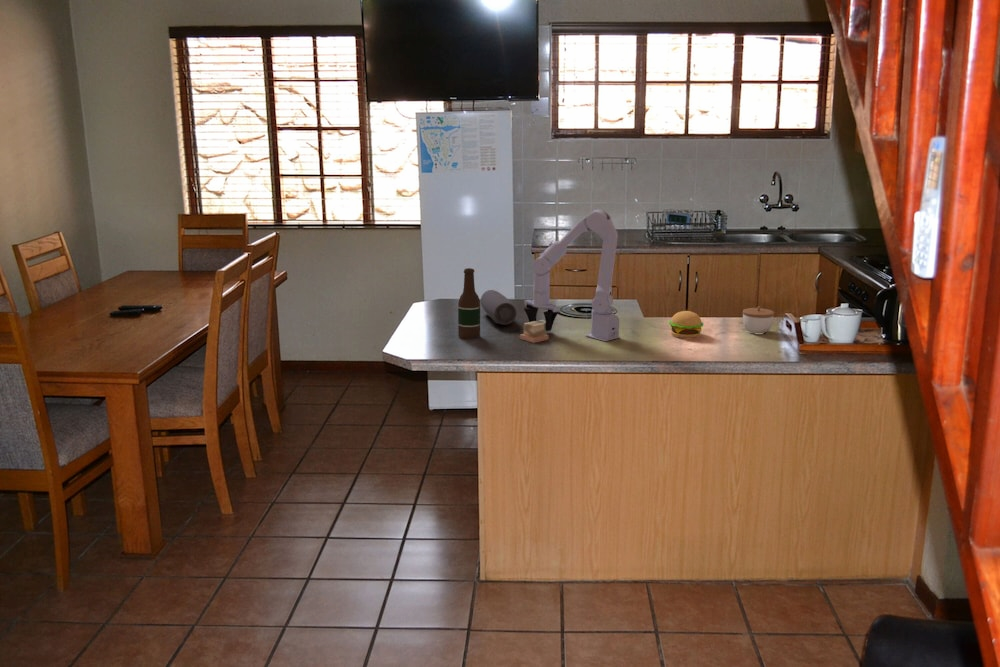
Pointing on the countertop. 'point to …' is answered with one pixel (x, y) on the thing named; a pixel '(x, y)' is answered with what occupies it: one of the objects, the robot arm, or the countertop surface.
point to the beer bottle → (469, 308)
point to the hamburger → (686, 325)
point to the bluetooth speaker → (498, 307)
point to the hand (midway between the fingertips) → (540, 328)
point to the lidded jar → (757, 319)
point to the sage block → (544, 326)
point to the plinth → (534, 338)
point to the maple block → (533, 329)
